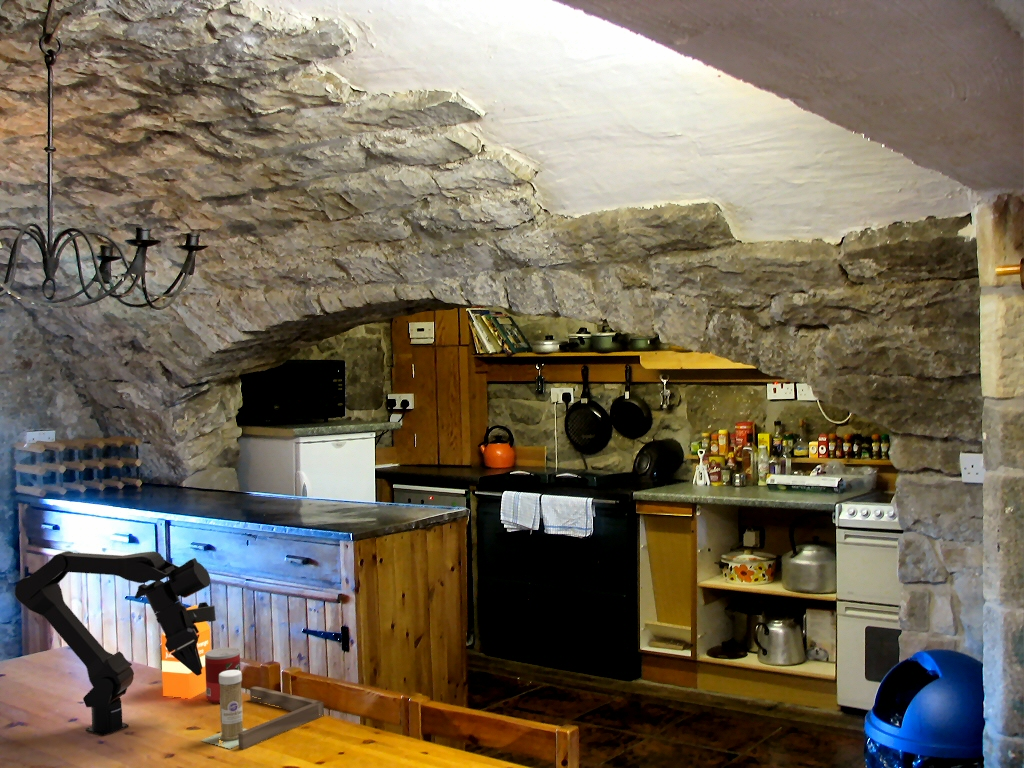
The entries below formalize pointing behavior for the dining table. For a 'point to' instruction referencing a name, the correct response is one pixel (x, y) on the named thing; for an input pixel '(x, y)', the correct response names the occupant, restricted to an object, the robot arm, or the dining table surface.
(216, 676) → the canned food
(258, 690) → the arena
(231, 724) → the sprinkles bottle
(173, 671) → the orange juice
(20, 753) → the dining table surface
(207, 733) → the dining table surface
